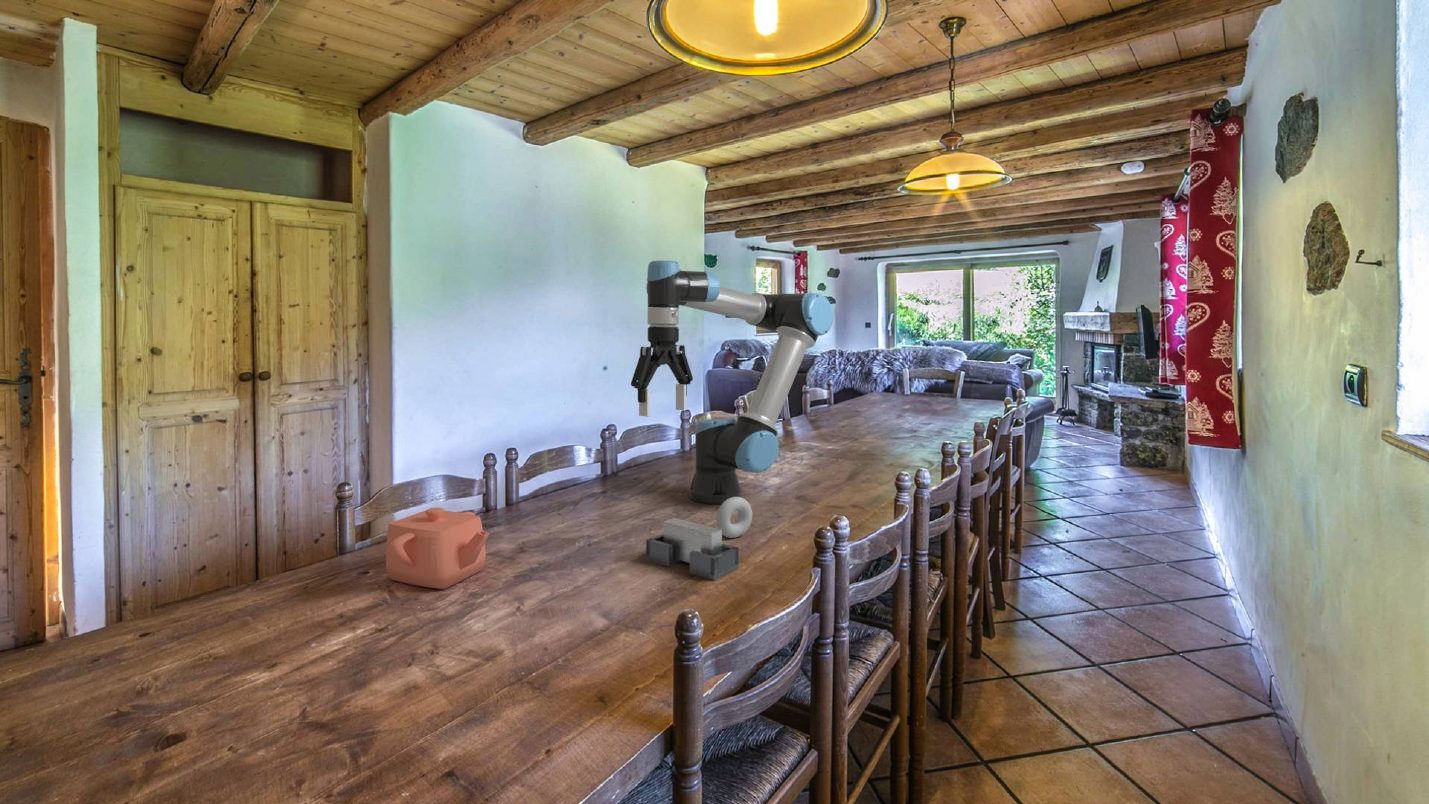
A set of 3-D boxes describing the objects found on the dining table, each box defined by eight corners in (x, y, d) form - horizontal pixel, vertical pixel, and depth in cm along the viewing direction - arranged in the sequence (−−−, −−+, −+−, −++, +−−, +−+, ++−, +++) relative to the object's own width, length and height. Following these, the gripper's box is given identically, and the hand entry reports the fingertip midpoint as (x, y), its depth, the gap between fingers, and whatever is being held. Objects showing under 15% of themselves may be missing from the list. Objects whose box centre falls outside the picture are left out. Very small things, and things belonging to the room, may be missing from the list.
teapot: (364, 590, 130) (360, 520, 128) (447, 553, 150) (444, 492, 148) (446, 607, 123) (443, 533, 121) (522, 566, 143) (520, 501, 141)
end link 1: (671, 549, 154) (671, 530, 153) (693, 555, 150) (693, 536, 149) (646, 560, 147) (646, 540, 146) (668, 567, 143) (668, 546, 143)
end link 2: (714, 561, 146) (714, 541, 146) (738, 568, 143) (738, 547, 142) (689, 573, 140) (689, 552, 139) (714, 580, 136) (714, 559, 135)
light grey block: (674, 550, 150) (674, 518, 149) (721, 564, 142) (722, 529, 141) (663, 555, 147) (663, 521, 146) (711, 569, 139) (711, 533, 138)
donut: (721, 543, 158) (721, 501, 157) (712, 539, 161) (713, 498, 160) (755, 535, 164) (755, 495, 163) (746, 532, 167) (747, 492, 165)
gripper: (639, 326, 152) (639, 420, 155) (706, 325, 172) (706, 408, 175) (615, 326, 156) (616, 417, 159) (683, 325, 176) (683, 406, 179)
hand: (663, 413), depth 167 cm, fingers open, 13 cm apart
